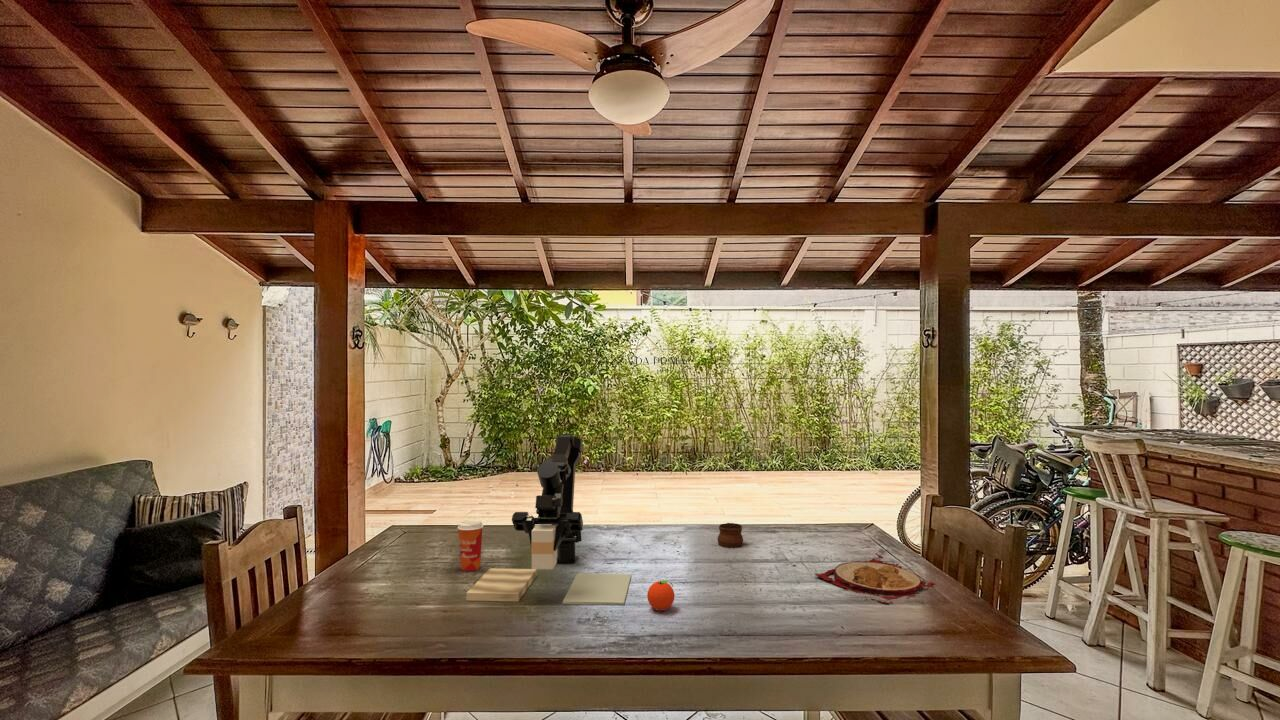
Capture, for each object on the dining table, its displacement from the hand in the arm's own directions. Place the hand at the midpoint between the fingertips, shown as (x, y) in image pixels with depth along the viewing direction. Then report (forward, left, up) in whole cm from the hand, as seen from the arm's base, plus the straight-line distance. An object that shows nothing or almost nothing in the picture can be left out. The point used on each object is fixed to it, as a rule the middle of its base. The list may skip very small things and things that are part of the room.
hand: (543, 550), depth 161 cm
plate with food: (-20, +92, -14) cm, 95 cm away
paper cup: (-26, -29, -14) cm, 41 cm away
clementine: (+3, +31, -14) cm, 34 cm away
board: (-10, -14, -13) cm, 22 cm away
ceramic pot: (-55, +53, -14) cm, 77 cm away
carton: (-1, 0, -5) cm, 5 cm away
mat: (-10, +13, -13) cm, 21 cm away
